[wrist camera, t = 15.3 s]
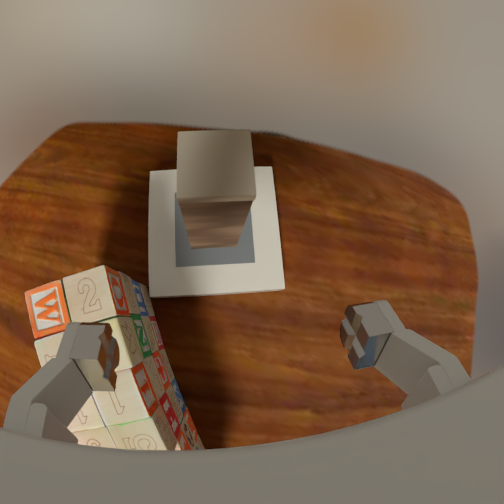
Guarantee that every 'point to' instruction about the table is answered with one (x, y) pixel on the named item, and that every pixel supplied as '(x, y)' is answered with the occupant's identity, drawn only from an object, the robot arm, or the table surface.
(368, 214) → the table surface
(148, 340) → the stack of blocks
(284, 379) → the table surface
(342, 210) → the table surface
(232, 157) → the brown tall block
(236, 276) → the plate
